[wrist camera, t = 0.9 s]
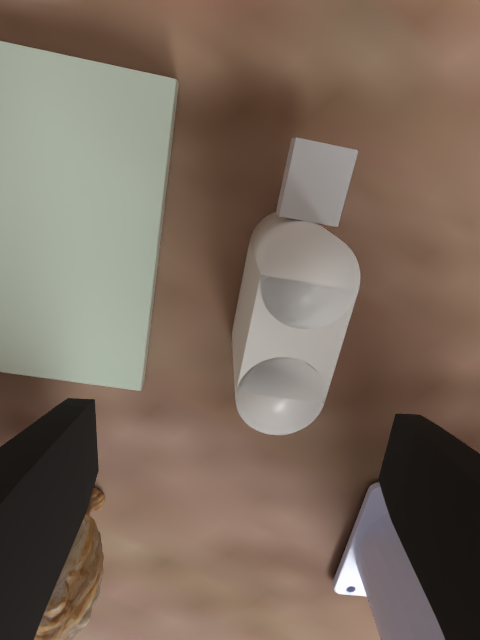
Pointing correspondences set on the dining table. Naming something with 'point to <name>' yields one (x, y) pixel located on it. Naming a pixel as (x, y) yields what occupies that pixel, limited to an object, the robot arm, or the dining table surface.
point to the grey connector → (295, 294)
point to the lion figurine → (76, 581)
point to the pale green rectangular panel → (80, 214)
